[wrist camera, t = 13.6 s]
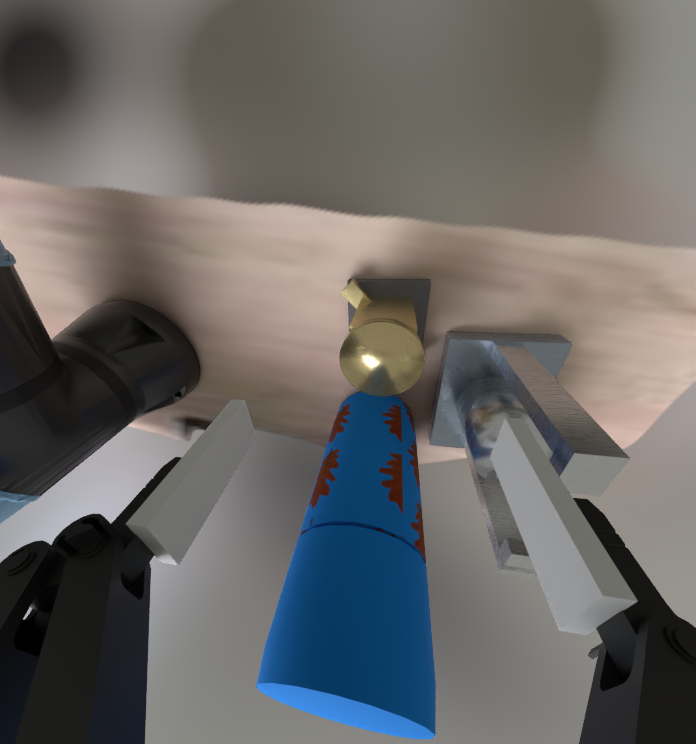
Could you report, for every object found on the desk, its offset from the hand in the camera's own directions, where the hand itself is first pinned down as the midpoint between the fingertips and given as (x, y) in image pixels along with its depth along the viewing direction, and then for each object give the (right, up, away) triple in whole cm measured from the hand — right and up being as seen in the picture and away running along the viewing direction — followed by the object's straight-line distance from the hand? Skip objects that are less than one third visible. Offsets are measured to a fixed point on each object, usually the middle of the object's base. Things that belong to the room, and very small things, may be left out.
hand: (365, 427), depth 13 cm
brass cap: (+3, +8, +14) cm, 16 cm away
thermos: (+3, -4, +23) cm, 23 cm away
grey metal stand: (+15, 0, +17) cm, 23 cm away
